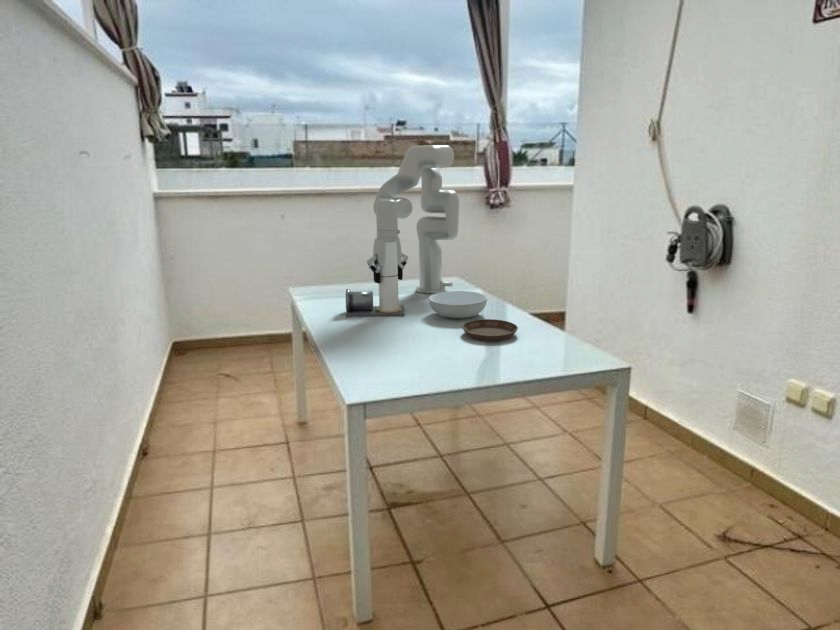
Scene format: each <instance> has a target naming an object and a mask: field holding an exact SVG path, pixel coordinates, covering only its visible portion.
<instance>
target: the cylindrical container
mask: <svg viewBox="0 0 840 630" xmlns="http://www.w3.org/2000/svg"><path fill="white" fill-rule="evenodd" d="M385 246H386V259H385V266H384V267H381V269H380V270H379V272H380V283H379V284H378V298H379V299H378V300H379V303H378V304H379V305H378V306H380V310H383V311H393V310H397V309H399V306H400V304H399V301H400V299H399V297H400V296H399V279H398V264H397V241H395V242H386V243H385ZM378 264H379V263H378Z"/></svg>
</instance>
